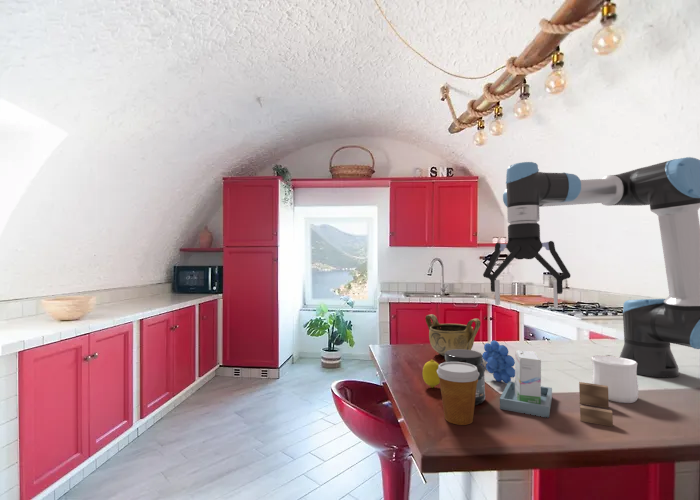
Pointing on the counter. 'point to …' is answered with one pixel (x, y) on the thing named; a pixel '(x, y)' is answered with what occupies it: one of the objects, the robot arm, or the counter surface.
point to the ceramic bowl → (451, 335)
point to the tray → (512, 404)
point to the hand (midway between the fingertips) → (525, 305)
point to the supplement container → (475, 360)
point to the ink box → (527, 377)
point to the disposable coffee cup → (458, 391)
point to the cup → (616, 377)
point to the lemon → (431, 373)
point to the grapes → (499, 362)
